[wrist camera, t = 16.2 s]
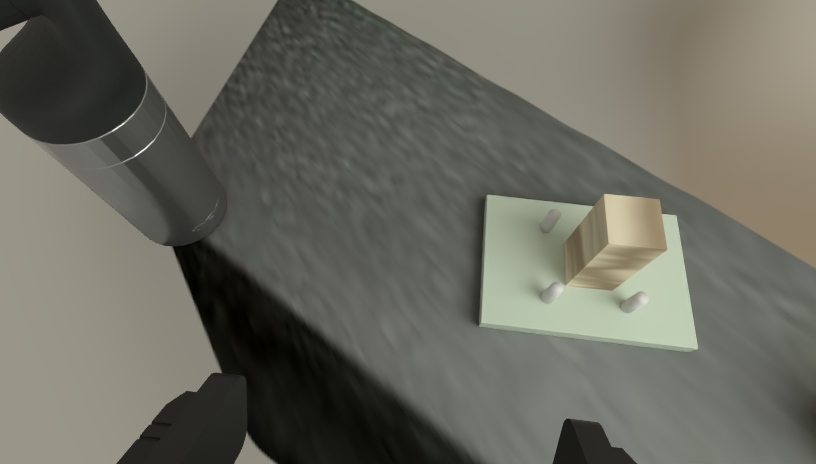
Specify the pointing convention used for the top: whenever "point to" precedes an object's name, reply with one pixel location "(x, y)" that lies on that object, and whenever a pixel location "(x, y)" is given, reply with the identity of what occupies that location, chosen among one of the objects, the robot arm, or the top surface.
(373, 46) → the top surface
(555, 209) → the peg board
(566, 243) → the ash block
